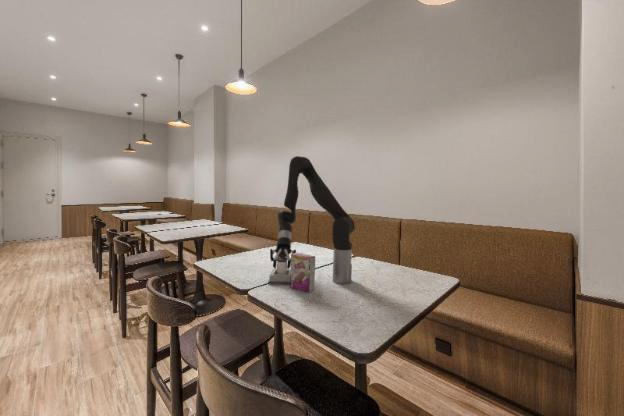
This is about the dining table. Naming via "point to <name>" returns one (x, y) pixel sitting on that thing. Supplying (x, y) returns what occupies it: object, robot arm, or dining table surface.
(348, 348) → the dining table surface
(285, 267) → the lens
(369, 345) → the dining table surface
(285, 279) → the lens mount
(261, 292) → the dining table surface
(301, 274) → the candy bar box
